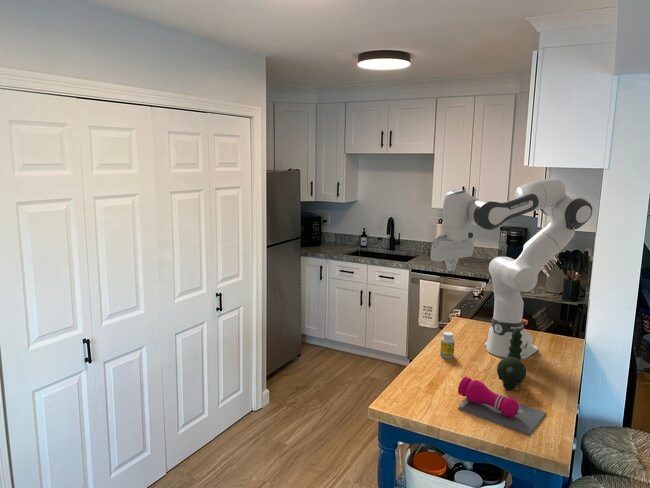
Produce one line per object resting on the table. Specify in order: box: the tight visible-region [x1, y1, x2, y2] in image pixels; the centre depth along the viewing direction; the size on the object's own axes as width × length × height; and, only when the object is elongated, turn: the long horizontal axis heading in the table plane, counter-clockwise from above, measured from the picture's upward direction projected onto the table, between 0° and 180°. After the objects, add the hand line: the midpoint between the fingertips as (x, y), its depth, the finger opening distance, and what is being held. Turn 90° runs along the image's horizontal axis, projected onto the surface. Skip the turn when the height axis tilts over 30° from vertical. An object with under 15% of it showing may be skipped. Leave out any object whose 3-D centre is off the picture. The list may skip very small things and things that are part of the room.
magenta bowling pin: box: [457, 376, 523, 418], centre depth 150 cm, size 7×7×20 cm
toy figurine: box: [496, 328, 527, 391], centre depth 170 cm, size 9×19×25 cm
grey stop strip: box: [459, 396, 470, 407], centre depth 157 cm, size 1×14×2 cm, turn 140°
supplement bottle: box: [439, 331, 456, 359], centre depth 192 cm, size 5×5×10 cm
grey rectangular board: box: [457, 402, 547, 437], centre depth 151 cm, size 22×16×1 cm
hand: (450, 270), depth 180 cm, fingers closed
